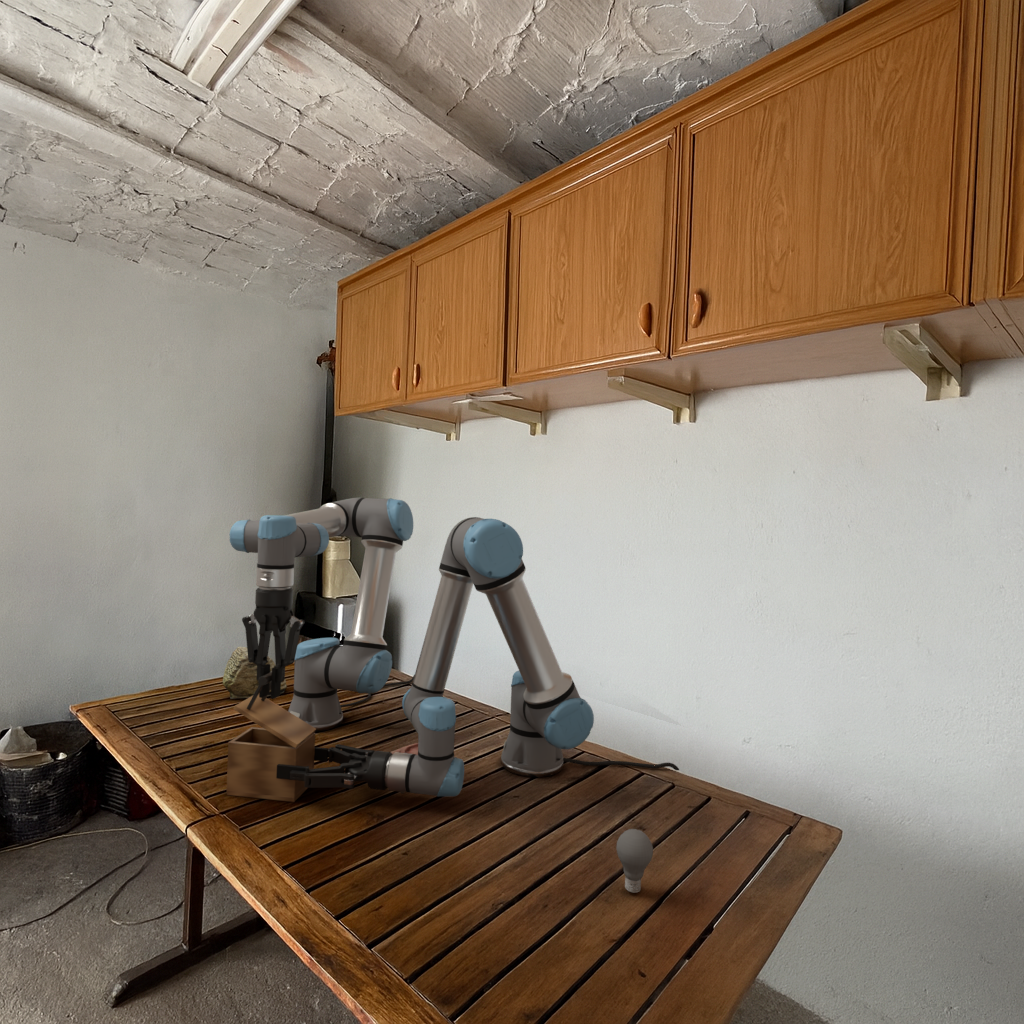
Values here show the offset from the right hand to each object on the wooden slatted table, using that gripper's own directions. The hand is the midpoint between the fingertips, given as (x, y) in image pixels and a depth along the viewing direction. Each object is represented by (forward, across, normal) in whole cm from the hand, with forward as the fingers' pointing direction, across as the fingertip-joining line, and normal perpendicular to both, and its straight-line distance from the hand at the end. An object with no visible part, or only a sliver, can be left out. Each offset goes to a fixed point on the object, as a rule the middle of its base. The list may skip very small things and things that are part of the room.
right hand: (288, 761), depth 136 cm
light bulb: (-72, -22, -6) cm, 75 cm away
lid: (+4, 0, +8) cm, 9 cm away
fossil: (+40, +58, -6) cm, 70 cm away
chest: (+4, 0, -6) cm, 7 cm away
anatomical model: (-19, +18, -6) cm, 27 cm away
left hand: (+5, 0, +14) cm, 15 cm away
